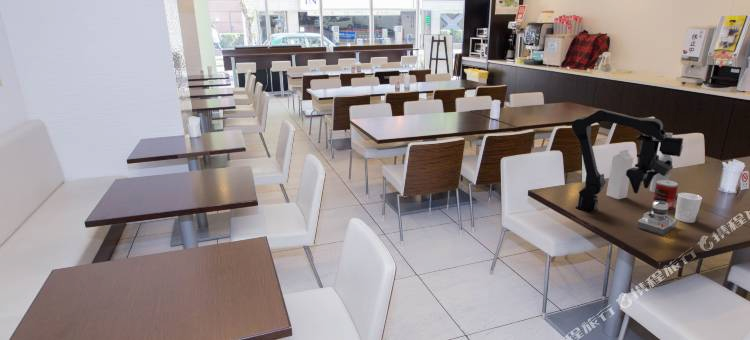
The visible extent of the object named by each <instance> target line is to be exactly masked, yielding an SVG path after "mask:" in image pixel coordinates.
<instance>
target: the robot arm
mask: <svg viewBox="0 0 750 340" xmlns="http://www.w3.org/2000/svg"><path fill="white" fill-rule="evenodd" d="M599 121H604V122H607V123H611V124H615V125H616V124H617V125H619V126H622V127H627V128H631V129H632V130H633V129H634V130H635V131H637V132H639V133H641V134H640V135H637V137H635V139H636V141H637V140H638V141H641V142H640V147H639V152H638V153H637V154H636V157H637V163H635V164H634V166H632V168H630V169H628V170H627V171H626V176H627V177H628V178H629V180H630V181H629V183H630V185H631V187H632V191H633V193H634V194H638V193H639V190H640V188H641V185H642V183H643V187H644V189H648V188H650V187H649V186H651V181H652V179H653V177H654V176H655V175H656V174H658V173H660V175H662V176H665V175H668V174H669V172H670V173H671V171H672V170H673V160H672V161H670V160H667V161H665V162H664V161H661V160H659V154H658V151H659V152H660V154H661V153H662V154H664V155H670V156H672V157H673V156H674V157H678V158H680V157H681V155H682V151H683V147H684V146H683V143H684V141H683V140H684V138H683V137H673V136H672V137H667V134H666V133H667V132H666V131H665V130H664V124H663V122H662V120H660V119H658V118H653V117H636V116H631V115H627V114H623V113H618V112H615V111H611V110H607V109H605V108H600V109H599V110H597V111H595V112H594V113H592V114H590V115H588V116H586V117H585V116H581V117H579V118H577V119H575V120H573V122H572V123H571V129H572V131H573V133H574V135H575V137H576V139H577V140H578V142H579V146H580V151H581V156H582V160H583V165H584V170H585V183H584V184H585V186H584V187H583V188H581V190H579V191H578V194H579V195H578V202H577V206H575V208H576V209H578V210H581V211H585V212H588V213H592V212H594V211H596V210H598V208H599V207H598V204H599V199H598V194H600V192H602V190H604V188H605V186H606V185H605V184H606V183H607V182H606V180H605V174H604V173H601V174H600V172H599V171H598V167H597V162H596V157H595V153H594V148H593V144H592V139H591V135H592V125H594V124H595V123H598V122H599ZM659 144H660V145H659Z"/></svg>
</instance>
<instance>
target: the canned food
mask: <svg viewBox="0 0 750 340" xmlns="http://www.w3.org/2000/svg"><path fill="white" fill-rule="evenodd" d="M678 186H679V183H677V182H676V181H674V180H670V179H669V180H658V181H657V183H656V188H655V193H653V198H652V202H653V201H657V200H658V201H664V202H667V203H668V204H669V205H668V211H669V210H672V209H673V208H674V204H675V201H676V197H677V192H678Z"/></svg>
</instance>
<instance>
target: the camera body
mask: <svg viewBox="0 0 750 340" xmlns="http://www.w3.org/2000/svg"><path fill="white" fill-rule="evenodd" d="M677 222H678V220H677V219H676V218H673V217H672V216H671V215H669V214H667V216H666V220H658V219H655V218H651V211H647V212H645V213H643V216H642V217H641V218H639V219H638V220H637V226H636V228H638V229H641V230H643V231H644V230H645V231H648V232H650V233H653V234H658V235H661V236H664V235H666V234H667V233H670V231H672V230H673V229H675V228H676V226H677Z"/></svg>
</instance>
